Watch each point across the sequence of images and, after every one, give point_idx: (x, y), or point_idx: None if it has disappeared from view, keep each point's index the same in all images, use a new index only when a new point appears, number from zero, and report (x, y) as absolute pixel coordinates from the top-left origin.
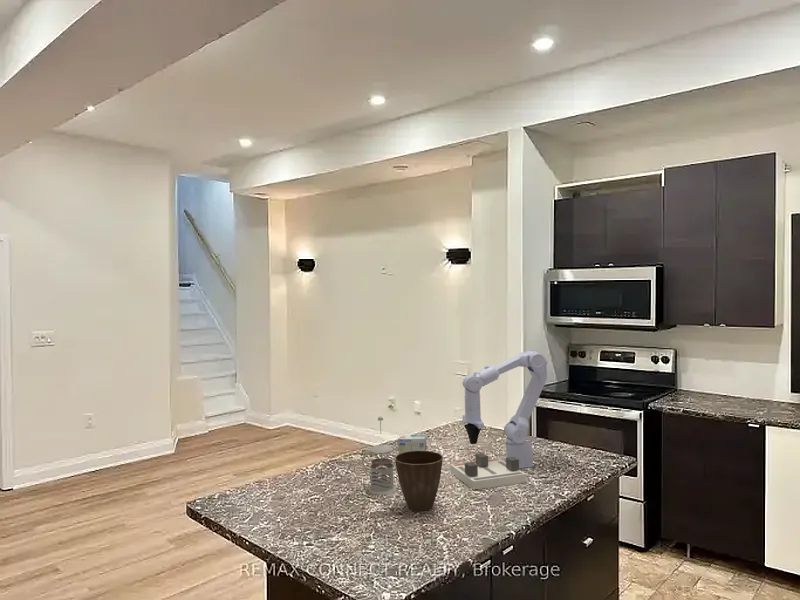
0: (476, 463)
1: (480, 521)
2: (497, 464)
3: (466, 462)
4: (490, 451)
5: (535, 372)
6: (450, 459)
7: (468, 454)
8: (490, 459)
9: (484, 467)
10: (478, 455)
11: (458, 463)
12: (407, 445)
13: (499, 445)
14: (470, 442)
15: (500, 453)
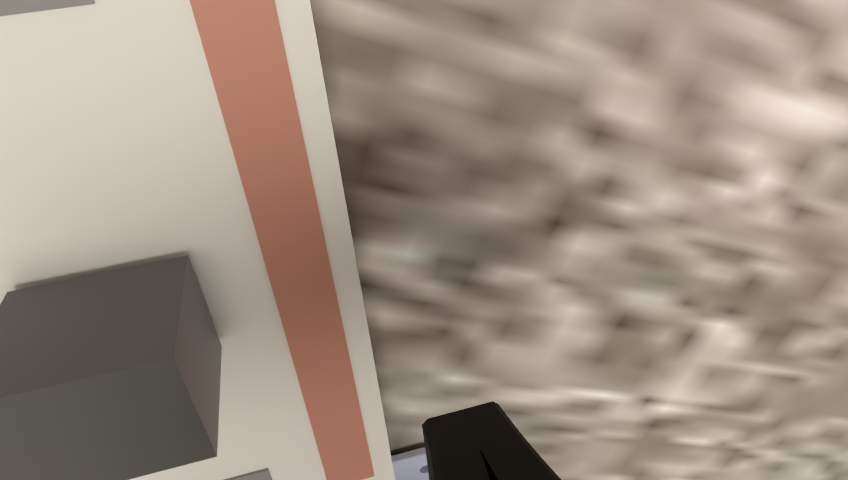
0: (166, 267)
1: None
2: None
3: (331, 144)
4: (751, 400)
5: None
6: (788, 19)
7: (800, 239)
8: (377, 419)
9: None
10: (77, 390)
11: (309, 1)
12: None
13: (817, 457)
14: (480, 424)
15: (672, 450)
